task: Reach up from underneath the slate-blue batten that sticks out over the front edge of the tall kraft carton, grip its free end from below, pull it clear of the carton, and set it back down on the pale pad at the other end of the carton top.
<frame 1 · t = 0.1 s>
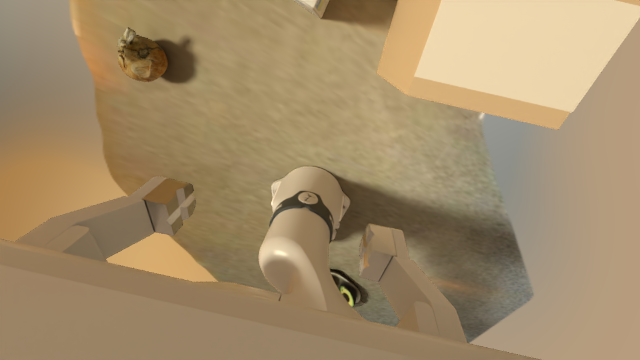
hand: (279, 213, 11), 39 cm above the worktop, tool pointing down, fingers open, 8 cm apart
carton: (440, 0, 37), on the worktop
salad plate: (331, 288, 72), on the worktop
onion: (155, 58, 46), on the worktop
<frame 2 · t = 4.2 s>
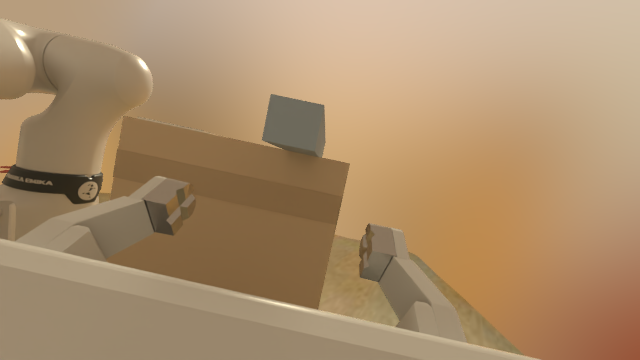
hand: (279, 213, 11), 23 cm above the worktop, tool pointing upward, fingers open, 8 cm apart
carton: (218, 332, 32), on the worktop
batten: (303, 154, 26), point 26 cm above the worktop, touching carton
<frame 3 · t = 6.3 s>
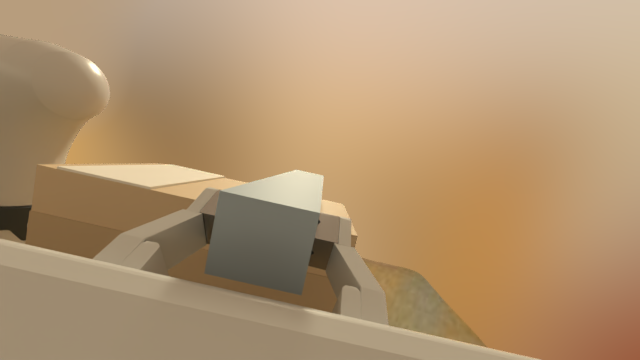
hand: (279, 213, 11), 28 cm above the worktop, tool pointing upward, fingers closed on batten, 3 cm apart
batten: (293, 214, 19), point 26 cm above the worktop, touching carton, gripper
when the fingers open (29 cm above the worktop, at t = 12.8 s): batten stays where it is, resting on carton.
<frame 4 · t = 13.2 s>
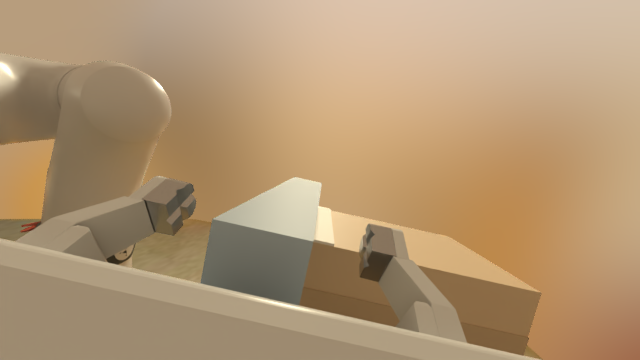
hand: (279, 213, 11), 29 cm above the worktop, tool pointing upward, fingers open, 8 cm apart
batten: (290, 226, 19), point 26 cm above the worktop, touching carton
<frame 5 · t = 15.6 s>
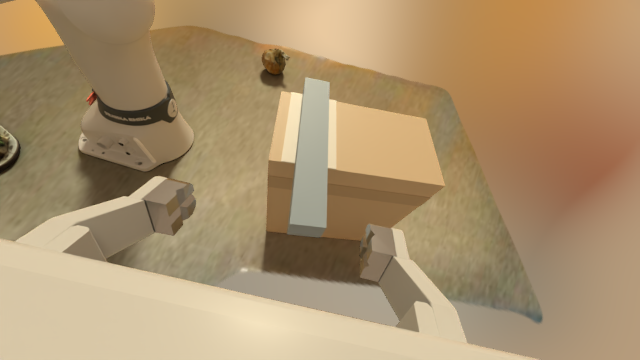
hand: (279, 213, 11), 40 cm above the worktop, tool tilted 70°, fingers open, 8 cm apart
carton: (322, 210, 56), on the worktop
onion: (273, 71, 79), on the worktop
batten: (309, 153, 31), point 26 cm above the worktop, touching carton
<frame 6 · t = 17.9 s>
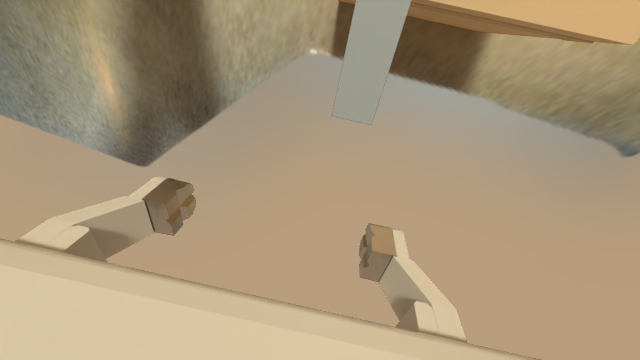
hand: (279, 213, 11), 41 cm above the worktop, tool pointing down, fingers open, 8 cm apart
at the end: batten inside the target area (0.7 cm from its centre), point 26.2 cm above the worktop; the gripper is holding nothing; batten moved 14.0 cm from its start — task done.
